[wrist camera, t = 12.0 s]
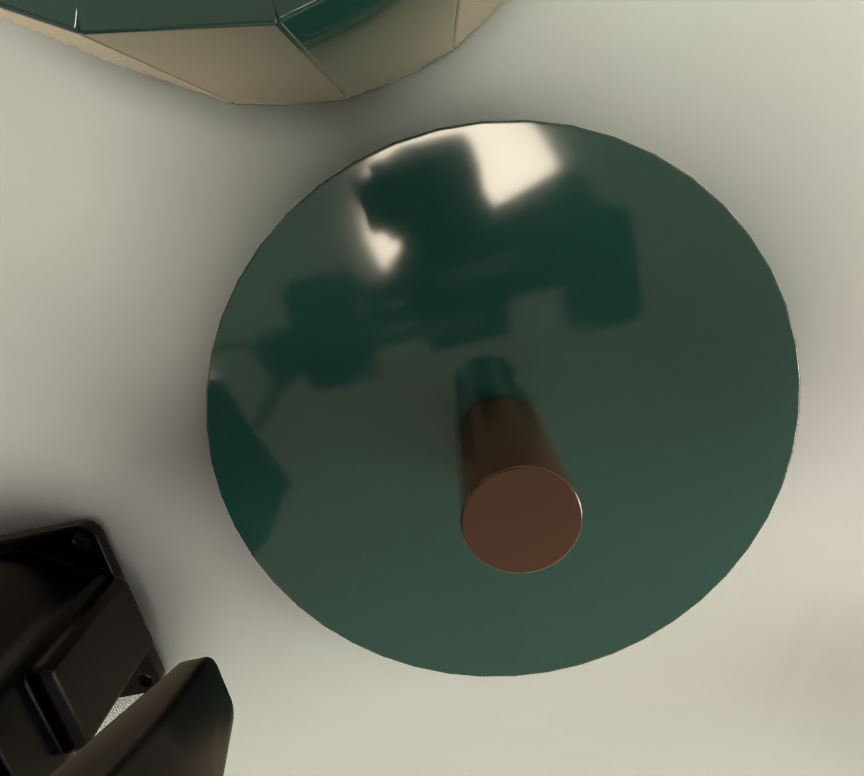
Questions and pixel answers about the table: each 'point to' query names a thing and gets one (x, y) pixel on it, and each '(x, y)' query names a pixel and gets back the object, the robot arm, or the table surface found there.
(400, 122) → the table surface
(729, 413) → the lid
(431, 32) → the tin
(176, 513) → the table surface
